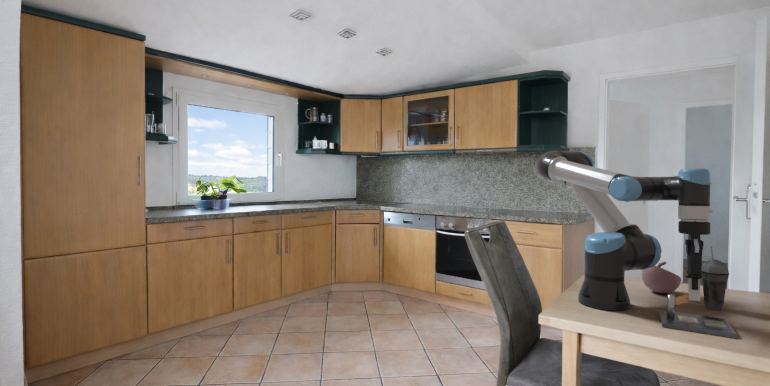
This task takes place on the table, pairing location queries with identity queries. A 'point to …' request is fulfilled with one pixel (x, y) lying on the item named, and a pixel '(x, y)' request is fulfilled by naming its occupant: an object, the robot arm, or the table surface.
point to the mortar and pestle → (660, 279)
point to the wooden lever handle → (682, 299)
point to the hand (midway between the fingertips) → (694, 300)
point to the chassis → (694, 321)
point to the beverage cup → (714, 283)
